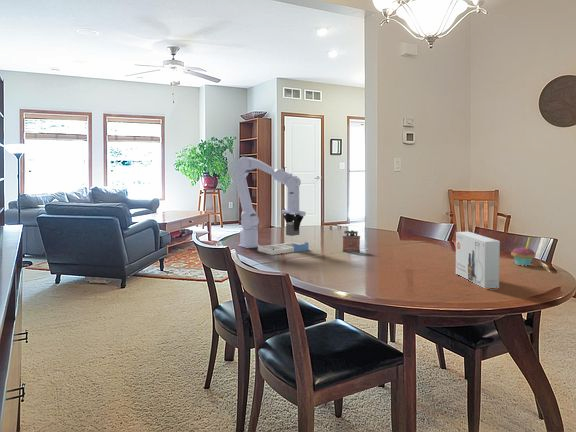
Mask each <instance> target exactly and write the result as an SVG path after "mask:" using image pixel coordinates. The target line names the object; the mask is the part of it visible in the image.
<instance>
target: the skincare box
mask: <svg viewBox="0 0 576 432" xmlns="http://www.w3.org/2000/svg"><path fill="white" fill-rule="evenodd" d="M500 246H501V241H500V240H497V239H494V238H491V237H488V236H484V235H481V234H478V233H475V232H471V231H456V232H455V275H456V274H458V275H460V276H462V277H464V278H466V279H468V280H469V281H471V282H473V283H475V284H477V285H479V286H481V287H483V288H499V289H500ZM458 275H457V276H458ZM460 276H459V277H460ZM462 277H461V278H462ZM464 278H463V279H464ZM466 279H465V280H466ZM468 280H467V281H468ZM469 281H468V282H469ZM471 282H470V283H471ZM473 283H472V284H473ZM475 284H474V285H475ZM477 285H476V286H477ZM479 286H478V287H479ZM481 287H480V288H481Z"/></svg>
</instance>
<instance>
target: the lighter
mask: <svg viewBox="0 0 576 432" xmlns="http://www.w3.org/2000/svg"><path fill="white" fill-rule="evenodd" d="M343 233H344V234H345V235H342V250H341V251H342V253H354V254H355V253H360V252H361V249H360V247H361V246H360V245H361V244H360V243H361V235H358V231H355V230H352V229H351V230H344V231H343Z"/></svg>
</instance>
